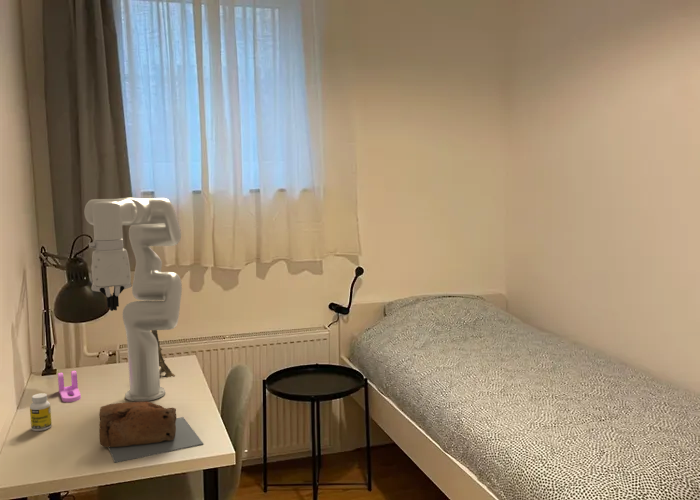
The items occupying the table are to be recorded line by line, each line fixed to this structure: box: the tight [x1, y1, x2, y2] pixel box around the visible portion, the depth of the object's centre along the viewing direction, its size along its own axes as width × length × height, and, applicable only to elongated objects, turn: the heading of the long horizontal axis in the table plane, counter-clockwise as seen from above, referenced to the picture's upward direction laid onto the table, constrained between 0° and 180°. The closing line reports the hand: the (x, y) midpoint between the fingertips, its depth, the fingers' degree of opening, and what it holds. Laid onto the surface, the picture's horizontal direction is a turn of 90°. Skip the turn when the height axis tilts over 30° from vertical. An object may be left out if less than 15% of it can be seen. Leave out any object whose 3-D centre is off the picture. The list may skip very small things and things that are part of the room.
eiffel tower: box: [150, 330, 176, 378], centre depth 241 cm, size 11×11×25 cm
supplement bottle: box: [29, 392, 52, 432], centre depth 194 cm, size 5×5×10 cm
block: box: [98, 401, 177, 448], centre depth 183 cm, size 11×8×20 cm
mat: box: [107, 416, 204, 464], centre depth 186 cm, size 22×23×1 cm
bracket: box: [57, 370, 82, 403], centre depth 221 cm, size 13×6×7 cm, turn 29°
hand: (113, 309), depth 190 cm, fingers closed
